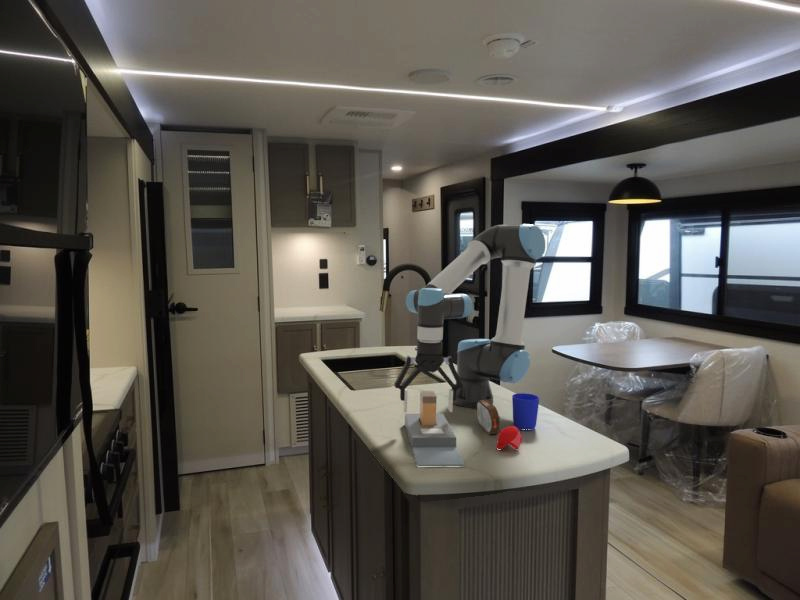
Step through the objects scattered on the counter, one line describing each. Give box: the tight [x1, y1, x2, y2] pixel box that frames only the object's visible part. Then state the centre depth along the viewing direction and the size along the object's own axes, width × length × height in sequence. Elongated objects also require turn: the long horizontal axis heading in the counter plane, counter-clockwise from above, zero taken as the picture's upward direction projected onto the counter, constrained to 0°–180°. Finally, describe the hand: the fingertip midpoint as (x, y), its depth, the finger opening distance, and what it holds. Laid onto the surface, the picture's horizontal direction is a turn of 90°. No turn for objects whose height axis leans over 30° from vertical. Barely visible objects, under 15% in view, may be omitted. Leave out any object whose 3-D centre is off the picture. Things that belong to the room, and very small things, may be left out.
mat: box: [412, 446, 466, 467], centre depth 142 cm, size 12×12×1 cm
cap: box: [495, 425, 523, 451], centre depth 151 cm, size 8×6×6 cm
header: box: [404, 413, 457, 451], centre depth 159 cm, size 12×22×4 cm, turn 5°
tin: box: [476, 399, 501, 435], centre depth 166 cm, size 15×3×8 cm, turn 9°
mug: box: [511, 392, 540, 431], centre depth 170 cm, size 8×12×10 cm
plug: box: [419, 390, 437, 425], centre depth 162 cm, size 4×6×12 cm, turn 5°
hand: (427, 411), depth 161 cm, fingers open, 13 cm apart
